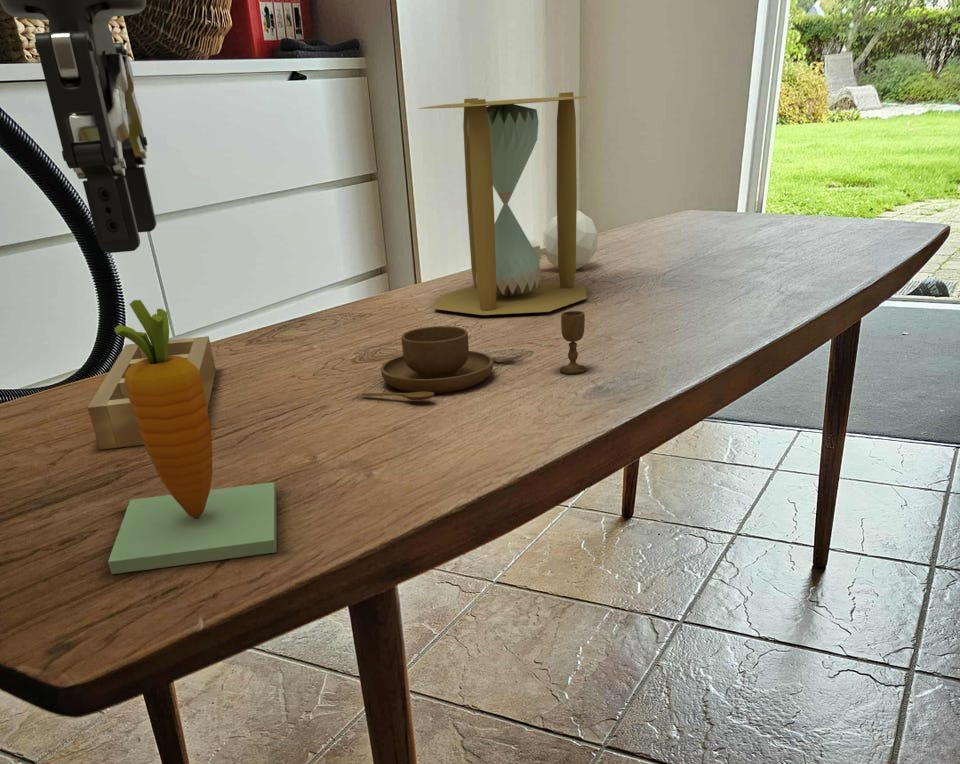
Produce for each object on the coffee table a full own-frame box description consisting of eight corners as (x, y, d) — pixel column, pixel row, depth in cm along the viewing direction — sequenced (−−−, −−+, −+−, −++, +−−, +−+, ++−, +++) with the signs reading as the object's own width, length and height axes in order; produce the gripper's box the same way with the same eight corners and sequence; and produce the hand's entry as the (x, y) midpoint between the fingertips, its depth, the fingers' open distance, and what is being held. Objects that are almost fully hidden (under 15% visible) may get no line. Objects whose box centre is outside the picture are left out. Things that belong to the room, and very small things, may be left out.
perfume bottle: (593, 249, 151) (523, 264, 151) (590, 194, 144) (517, 210, 144) (605, 274, 145) (532, 290, 146) (603, 219, 138) (527, 235, 139)
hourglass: (469, 283, 142) (459, 98, 129) (608, 284, 134) (611, 89, 121) (406, 316, 123) (385, 105, 110) (562, 321, 116) (560, 94, 103)
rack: (99, 450, 83) (87, 407, 80) (134, 380, 103) (125, 344, 101) (201, 438, 84) (192, 395, 82) (216, 371, 104) (208, 336, 102)
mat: (111, 574, 60) (107, 561, 60) (133, 511, 70) (129, 499, 69) (276, 552, 62) (274, 539, 61) (276, 493, 71) (274, 481, 70)
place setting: (430, 355, 105) (425, 302, 102) (591, 366, 97) (592, 309, 94) (347, 398, 92) (339, 339, 89) (526, 416, 84) (525, 352, 81)
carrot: (229, 527, 63) (179, 306, 55) (157, 536, 63) (96, 313, 55) (233, 501, 68) (188, 291, 60) (166, 508, 67) (111, 298, 59)
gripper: (10, -72, 52) (88, 231, 61) (-69, -121, 40) (42, 264, 49) (142, -76, 53) (201, 222, 62) (104, -126, 41) (184, 253, 50)
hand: (131, 240), depth 55 cm, fingers open, 8 cm apart
